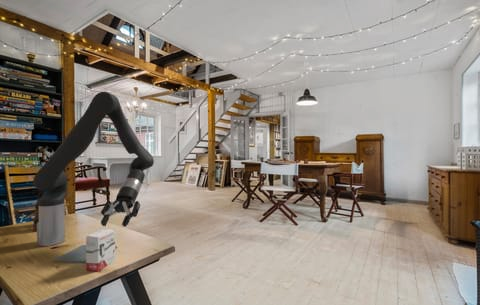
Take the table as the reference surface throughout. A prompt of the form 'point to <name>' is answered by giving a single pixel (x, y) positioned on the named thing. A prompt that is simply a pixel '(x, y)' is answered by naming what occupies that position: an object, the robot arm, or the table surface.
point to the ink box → (100, 249)
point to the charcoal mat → (74, 255)
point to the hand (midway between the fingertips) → (113, 225)
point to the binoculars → (37, 210)
